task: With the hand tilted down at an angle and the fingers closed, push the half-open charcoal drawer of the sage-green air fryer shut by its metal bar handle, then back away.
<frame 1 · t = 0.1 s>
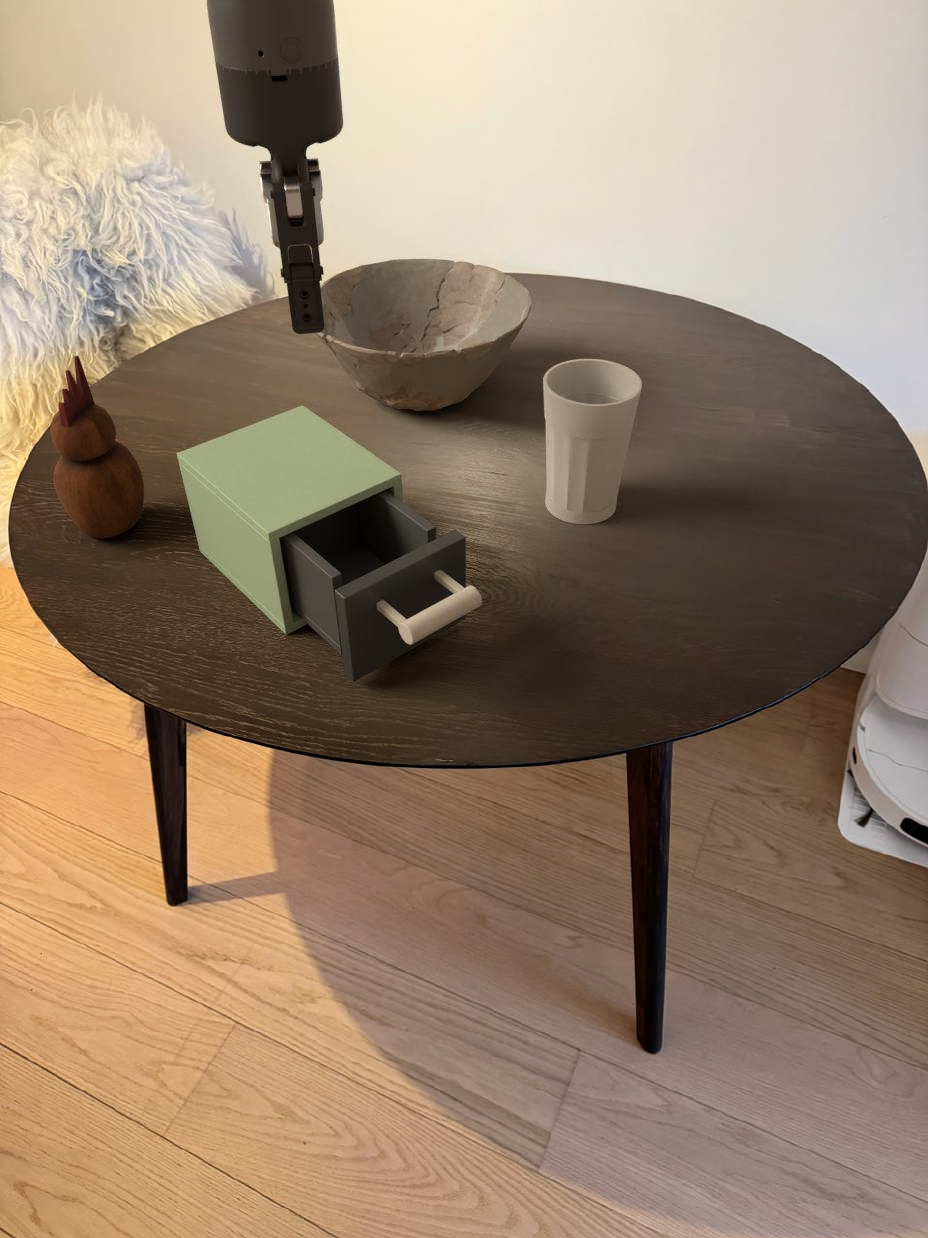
hand: (305, 305, 68), 20 cm above the table, tool pointing down, fingers open, 8 cm apart
air fryer: (301, 561, 78), on the table
fryer drawer: (375, 581, 68), point 5 cm above the table, slide at 7.0 cm
ceramic bowl: (422, 392, 100), on the table
wooden figurine: (113, 527, 82), on the table
cup: (580, 505, 84), on the table
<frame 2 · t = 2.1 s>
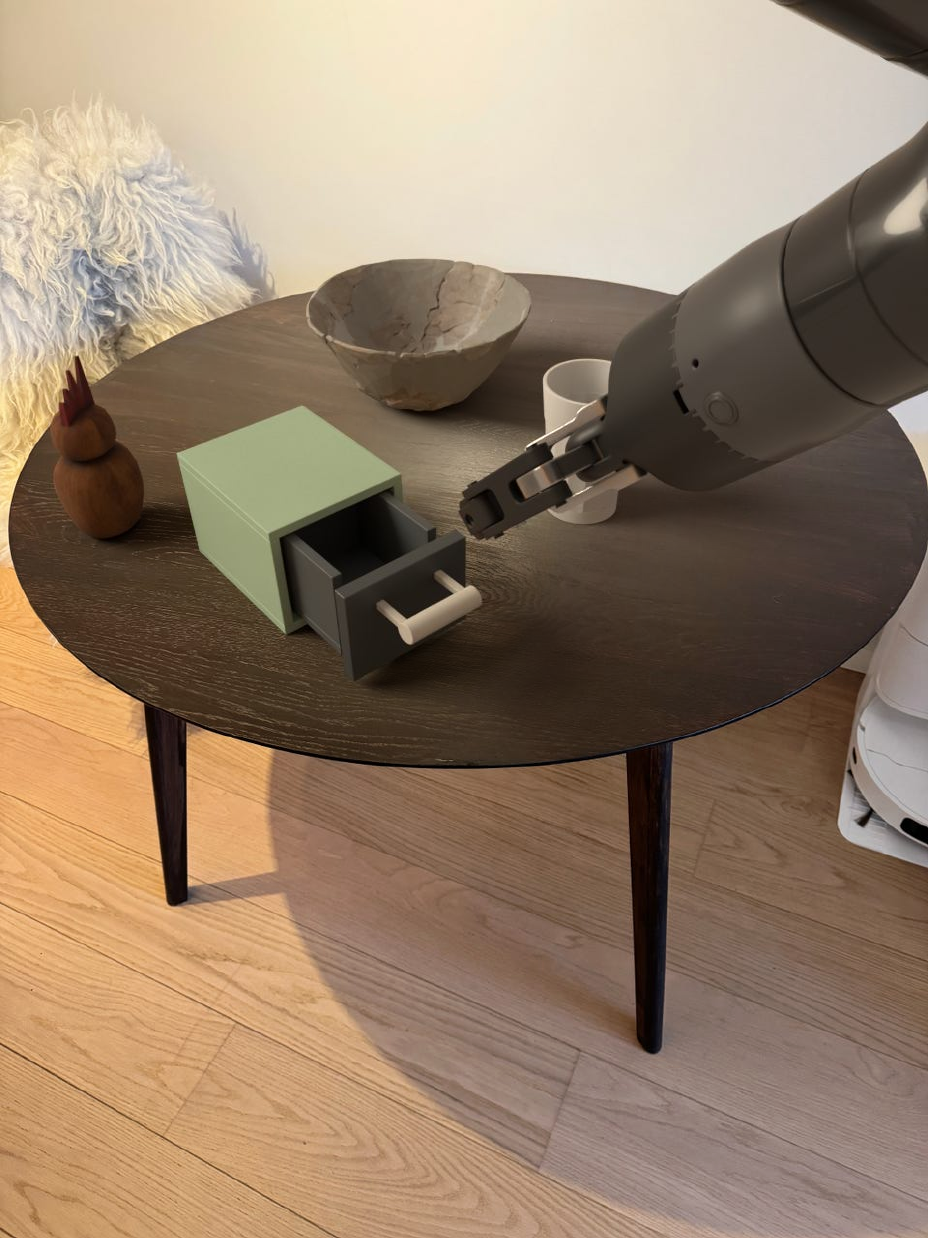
hand: (532, 489, 49), 21 cm above the table, tool tilted 45°, fingers open, 8 cm apart
nothing on the table moved.
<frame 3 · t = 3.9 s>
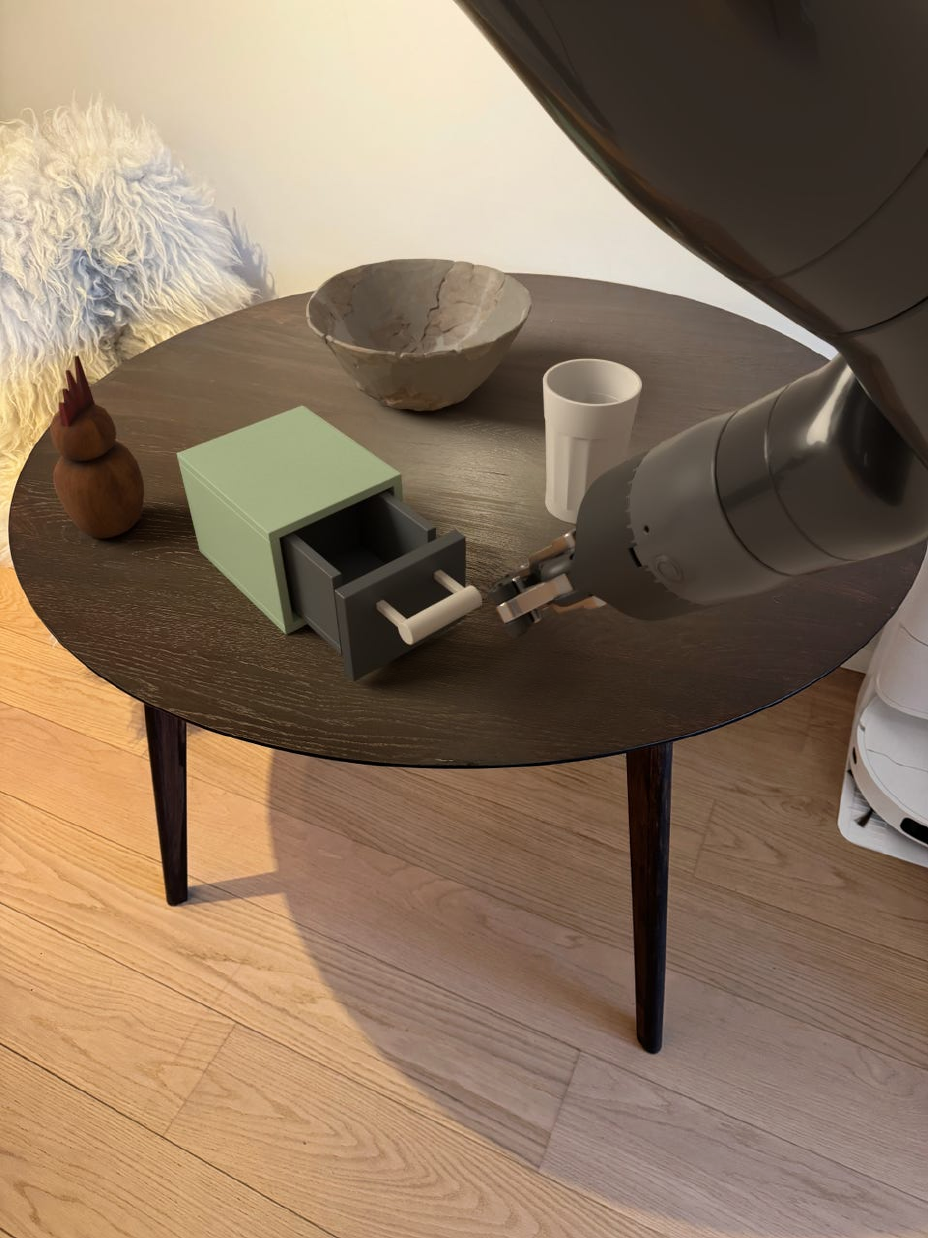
hand: (506, 595, 55), 13 cm above the table, tool tilted 45°, fingers closed
nothing on the table moved.
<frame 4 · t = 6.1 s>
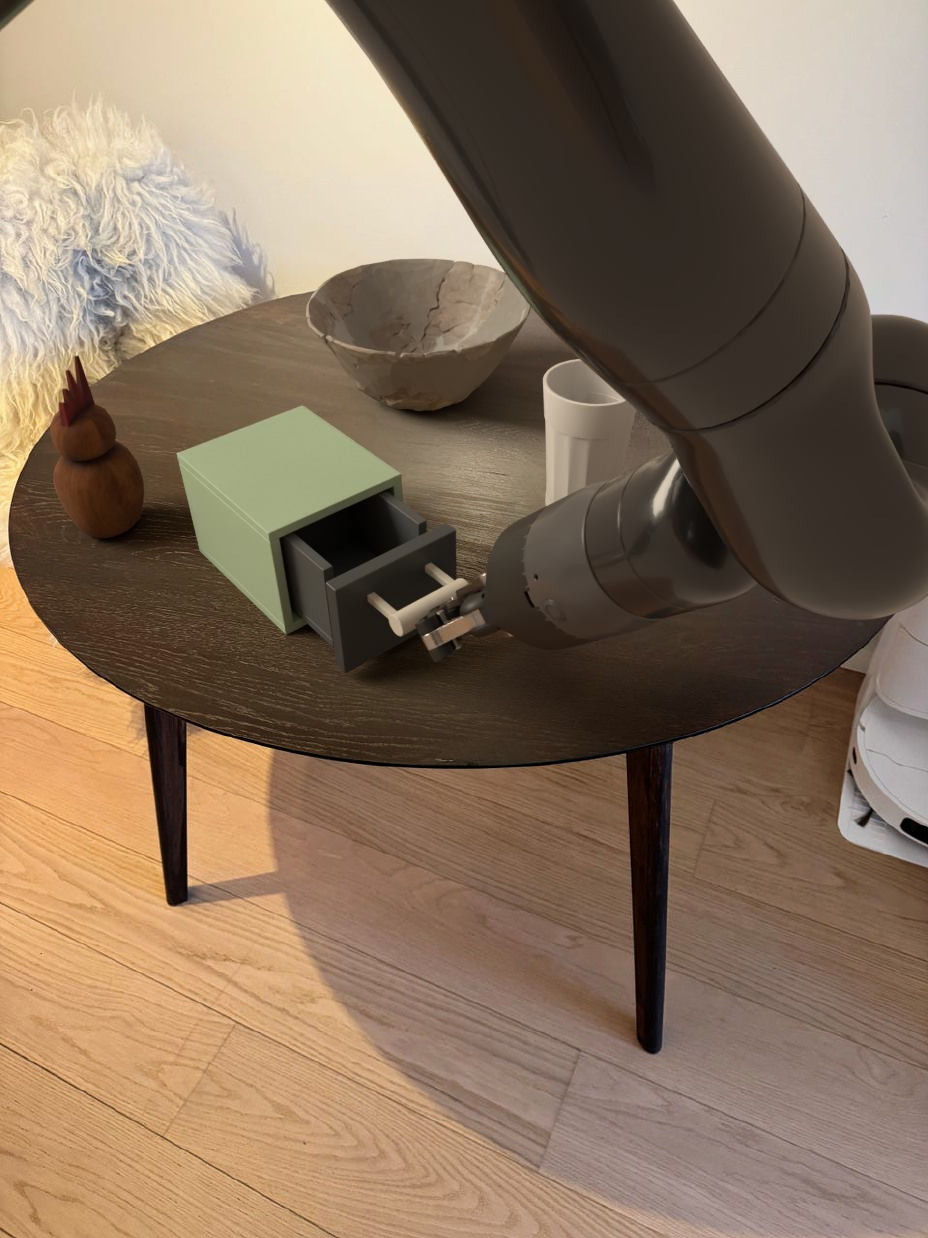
hand: (442, 621, 63), 6 cm above the table, tool tilted 45°, fingers closed
fryer drawer: (367, 574, 69), point 5 cm above the table, slide at 5.9 cm, touching gripper
everything else where it was.
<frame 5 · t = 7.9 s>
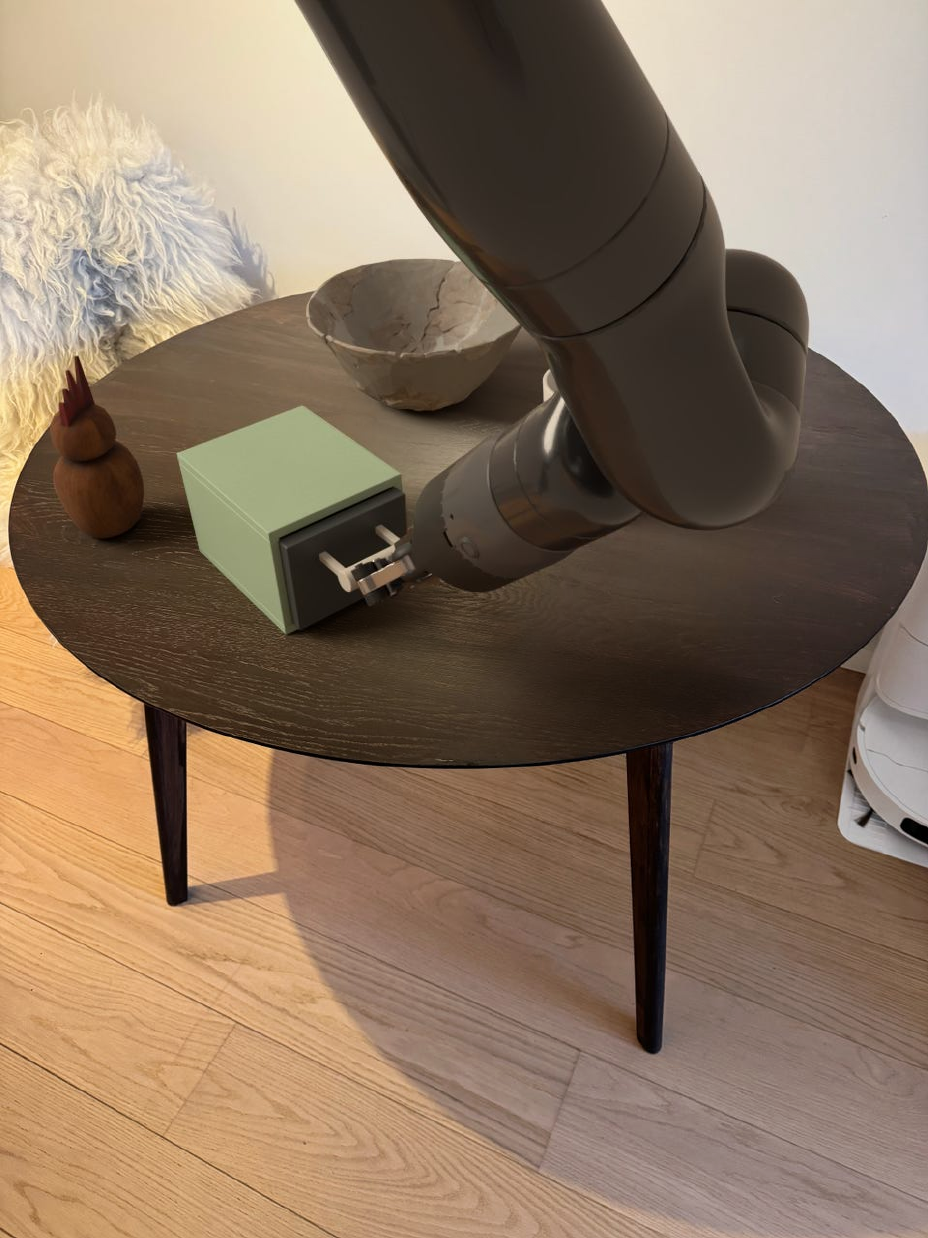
hand: (389, 578, 66), 6 cm above the table, tool tilted 45°, fingers closed
fryer drawer: (322, 537, 72), point 5 cm above the table, slide at 0.0 cm, touching air fryer, gripper
everything else where it was.
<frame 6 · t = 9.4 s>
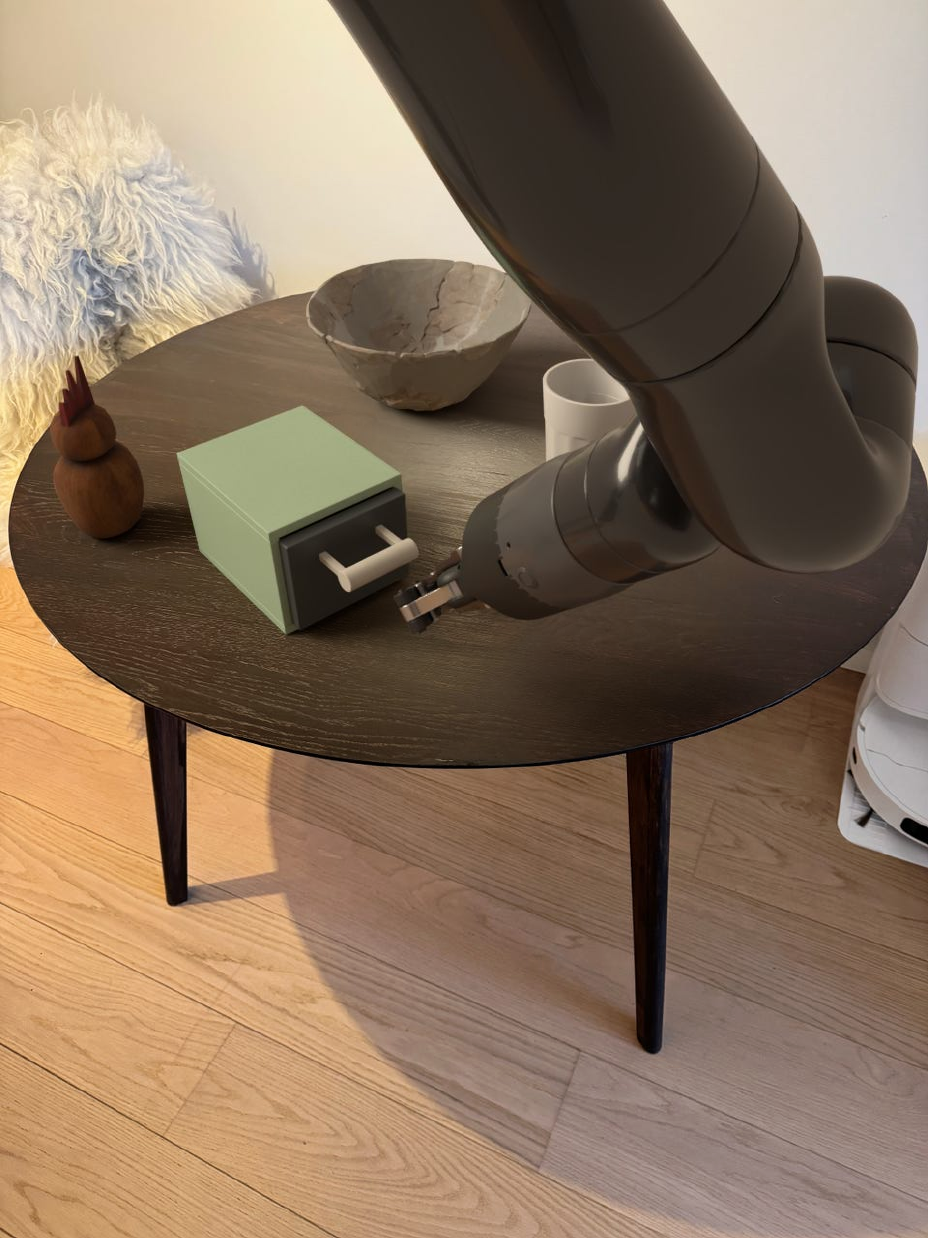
hand: (424, 598, 64), 7 cm above the table, tool tilted 45°, fingers closed
fryer drawer: (322, 537, 72), point 5 cm above the table, slide at 0.0 cm, touching air fryer
everything else where it was.
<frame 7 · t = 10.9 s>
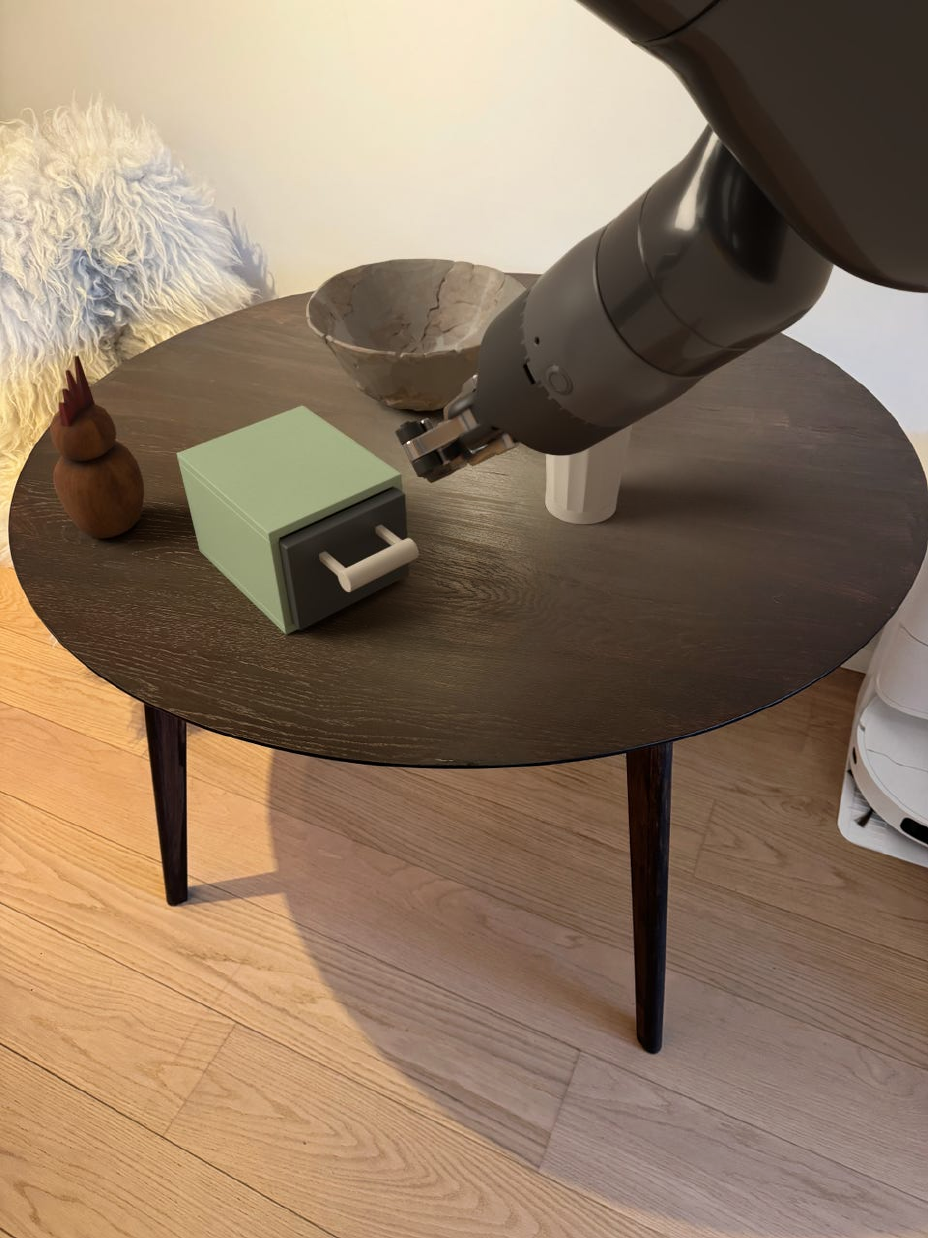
hand: (430, 464, 56), 18 cm above the table, tool tilted 45°, fingers closed
nothing on the table moved.
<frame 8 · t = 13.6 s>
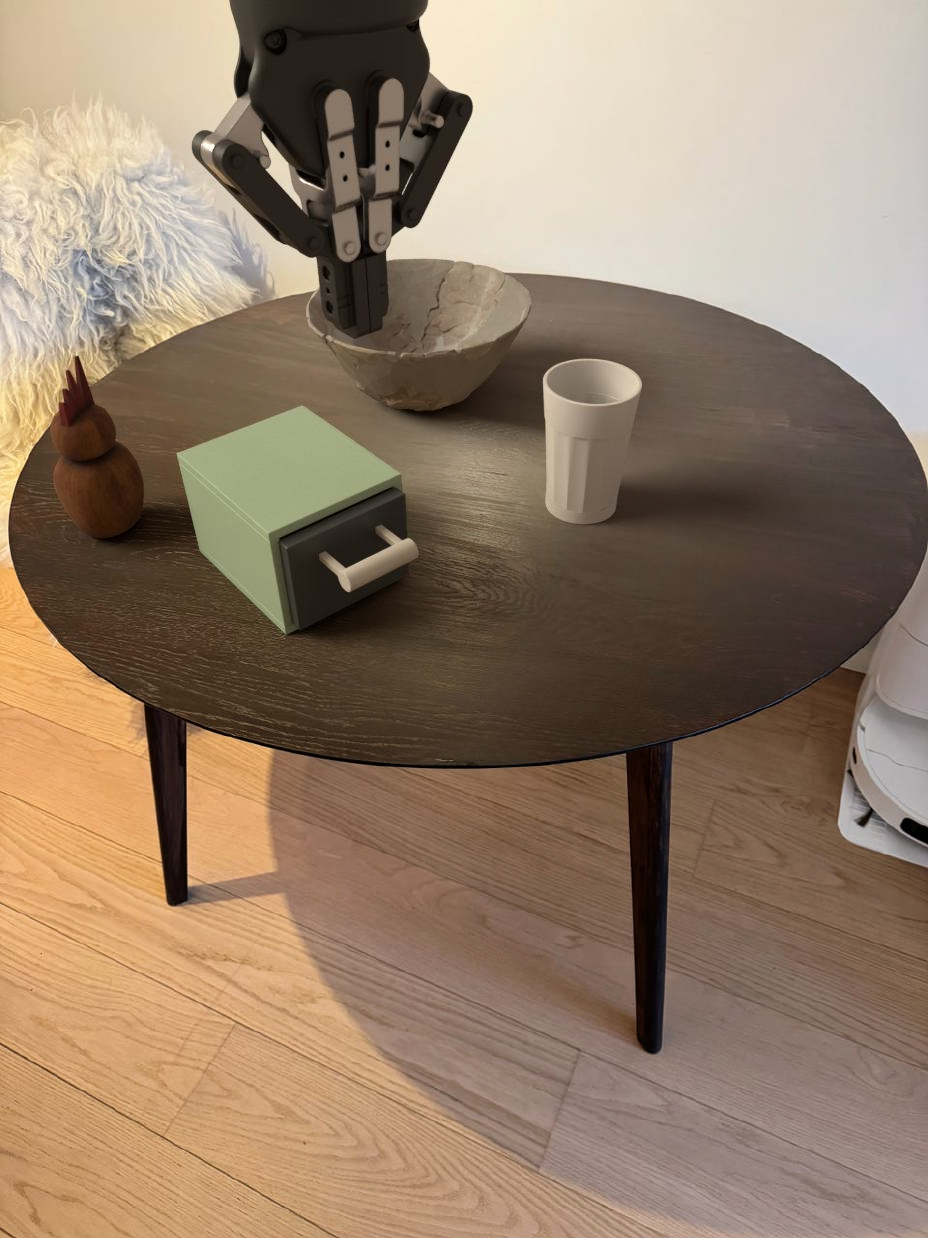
hand: (357, 329, 44), 29 cm above the table, tool pointing down, fingers closed
nothing on the table moved.
at the end: fryer drawer slide at 0.0 cm; ceramic bowl moved 0.2 cm from its start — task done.
